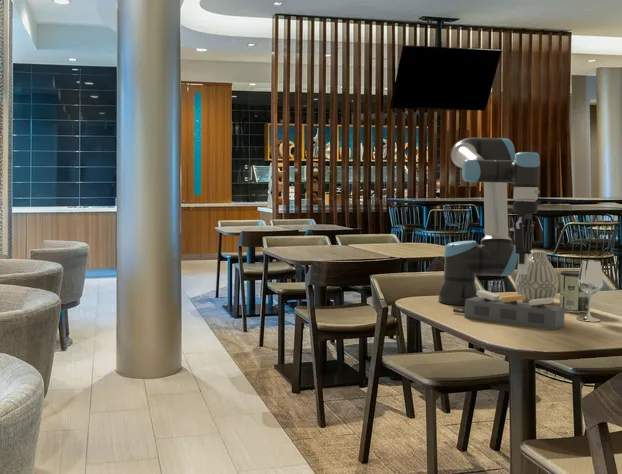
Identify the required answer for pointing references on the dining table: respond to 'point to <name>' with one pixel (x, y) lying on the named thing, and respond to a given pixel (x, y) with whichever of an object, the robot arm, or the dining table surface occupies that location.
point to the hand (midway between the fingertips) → (522, 273)
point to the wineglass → (590, 283)
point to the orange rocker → (513, 298)
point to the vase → (537, 278)
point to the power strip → (514, 313)
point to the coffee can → (572, 293)
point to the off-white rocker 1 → (488, 295)
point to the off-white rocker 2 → (541, 301)
